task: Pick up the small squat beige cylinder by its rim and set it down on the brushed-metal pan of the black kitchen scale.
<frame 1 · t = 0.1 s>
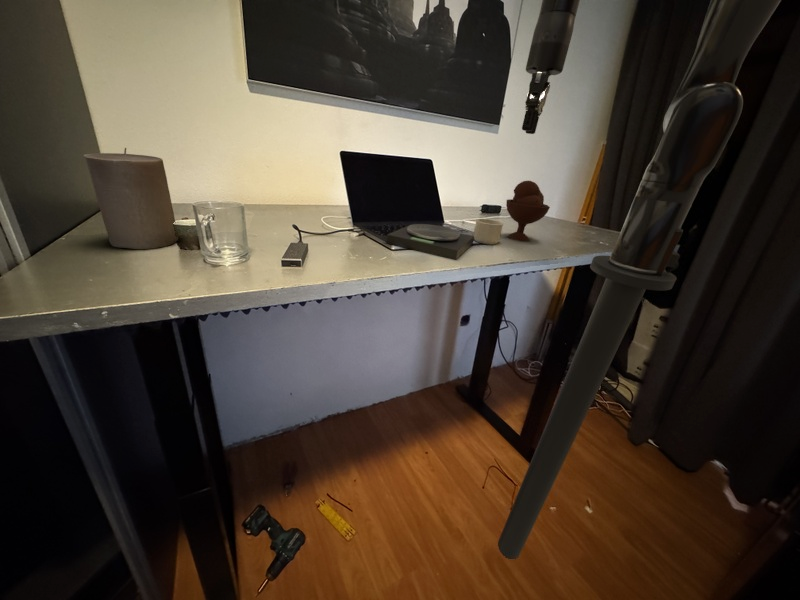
hand: (528, 132, 75), 25 cm above the table, tool pointing down, fingers open, 8 cm apart
scale pan: (433, 231, 74), point 3 cm above the table, slide at 0.0 cm
pillar candle: (145, 242, 57), on the table
ice cream bowl: (518, 239, 90), on the table
scale: (431, 243, 75), on the table
squat beige cylinder: (485, 241, 83), on the table
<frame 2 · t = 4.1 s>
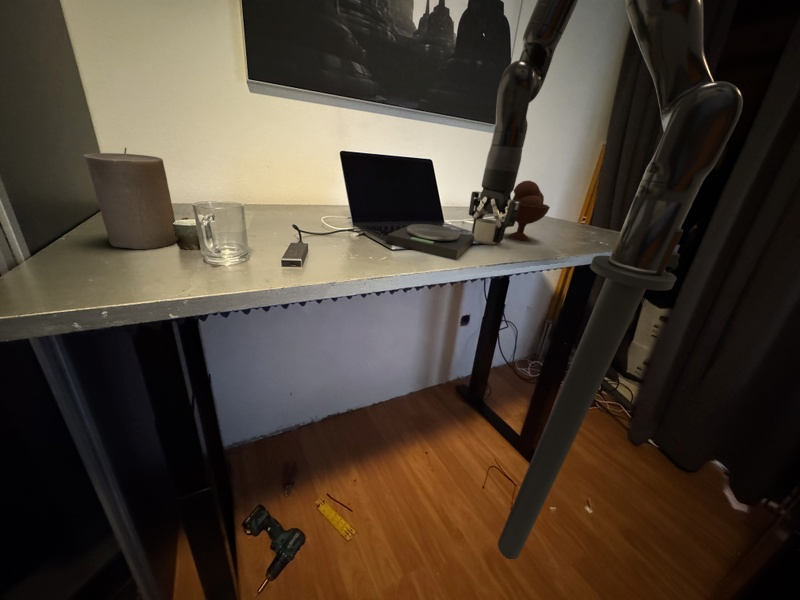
hand: (485, 238, 82), 1 cm above the table, tool pointing down, fingers closed on squat beige cylinder, 6 cm apart
squat beige cylinder: (485, 241, 83), on the table, touching gripper
everything else where it was.
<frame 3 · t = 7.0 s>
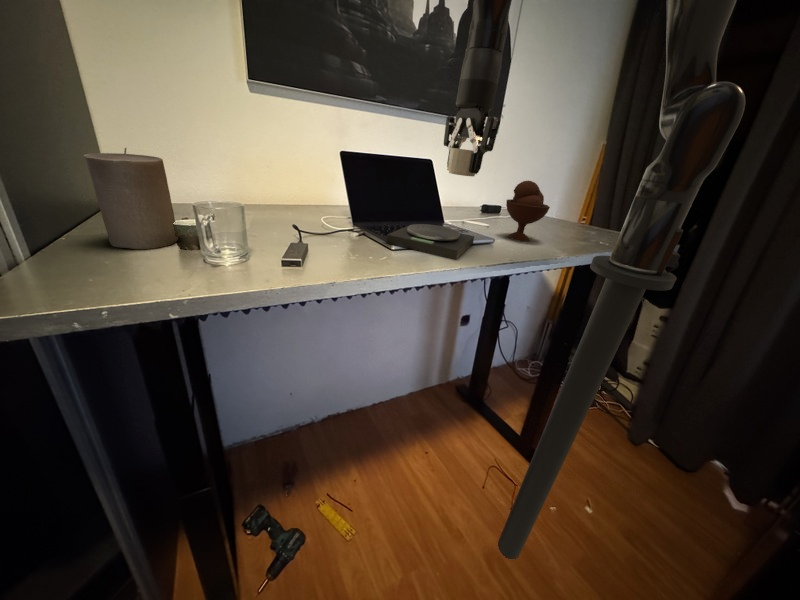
hand: (462, 170, 71), 16 cm above the table, tool pointing down, fingers closed on squat beige cylinder, 6 cm apart
squat beige cylinder: (461, 174, 71), point 15 cm above the table, touching gripper
everything else where it was.
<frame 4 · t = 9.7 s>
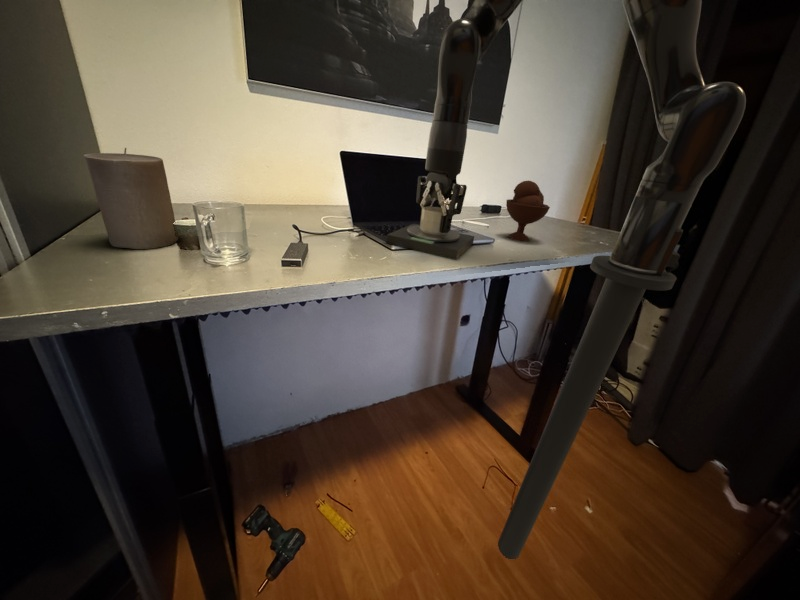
hand: (433, 228, 74), 4 cm above the table, tool pointing down, fingers closed on squat beige cylinder, 6 cm apart
scale pan: (433, 233, 74), point 3 cm above the table, slide at -0.3 cm, touching squat beige cylinder
squat beige cylinder: (433, 231, 74), point 3 cm above the table, touching gripper, scale pan
everything else where it was.
when the fingers open (4 cm above the table, at t = 10.0 s): squat beige cylinder stays where it is, resting on scale pan.
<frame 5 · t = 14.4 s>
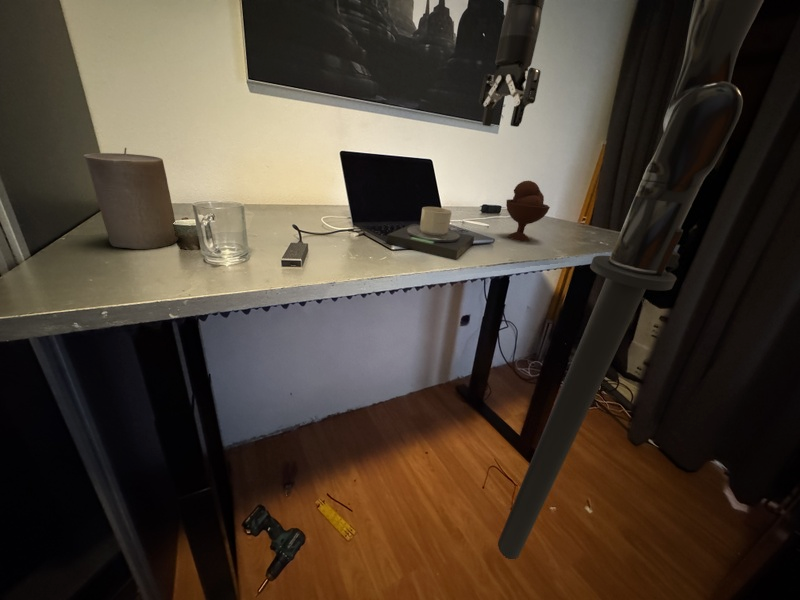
hand: (499, 125, 75), 26 cm above the table, tool pointing down, fingers open, 8 cm apart
squat beige cylinder: (433, 231, 74), point 3 cm above the table, touching scale pan
everything else where it was.
at the end: squat beige cylinder 0.0 cm off-centre on the scale, point 2.8 cm above the scale's base; squat beige cylinder tilted 0°; squat beige cylinder touching scale pan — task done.
